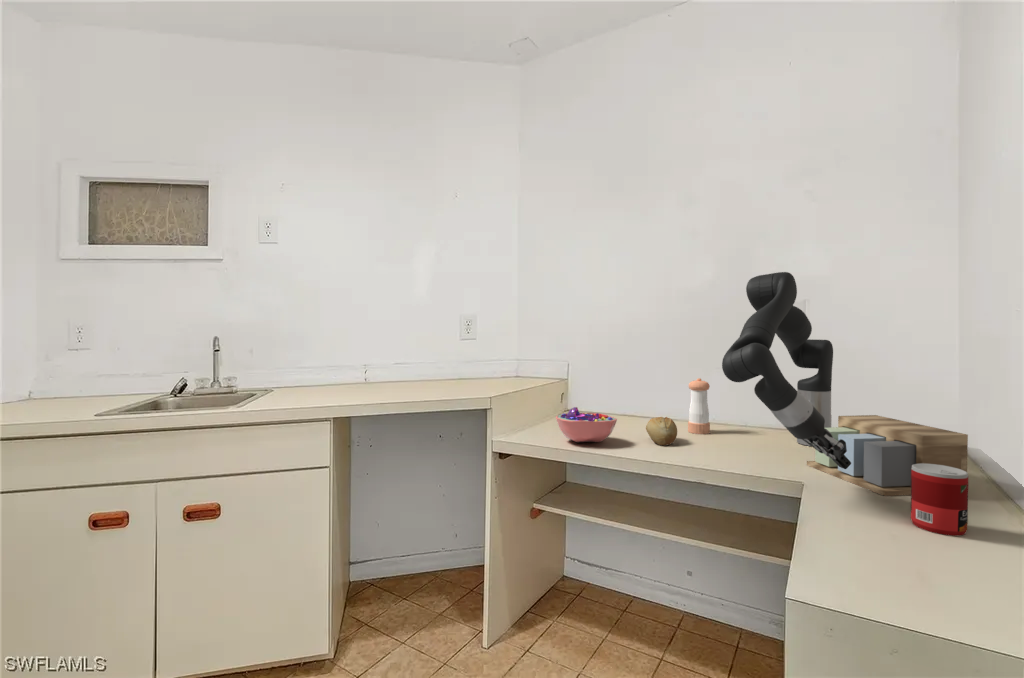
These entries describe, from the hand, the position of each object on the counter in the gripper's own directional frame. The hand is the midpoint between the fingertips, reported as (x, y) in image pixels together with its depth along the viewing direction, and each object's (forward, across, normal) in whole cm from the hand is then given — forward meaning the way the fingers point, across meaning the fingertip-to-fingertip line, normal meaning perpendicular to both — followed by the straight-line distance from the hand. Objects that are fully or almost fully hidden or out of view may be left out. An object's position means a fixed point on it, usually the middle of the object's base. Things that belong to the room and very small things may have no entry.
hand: (846, 465), depth 113 cm
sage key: (+11, +16, -5) cm, 20 cm away
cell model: (-29, +53, +38) cm, 72 cm away
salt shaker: (+2, +64, +7) cm, 64 cm away
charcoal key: (+11, 0, -5) cm, 12 cm away
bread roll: (-12, +52, +20) cm, 57 cm away
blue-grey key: (+11, +8, -5) cm, 14 cm away
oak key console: (+15, +8, -7) cm, 18 cm away
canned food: (+5, -21, +4) cm, 22 cm away
